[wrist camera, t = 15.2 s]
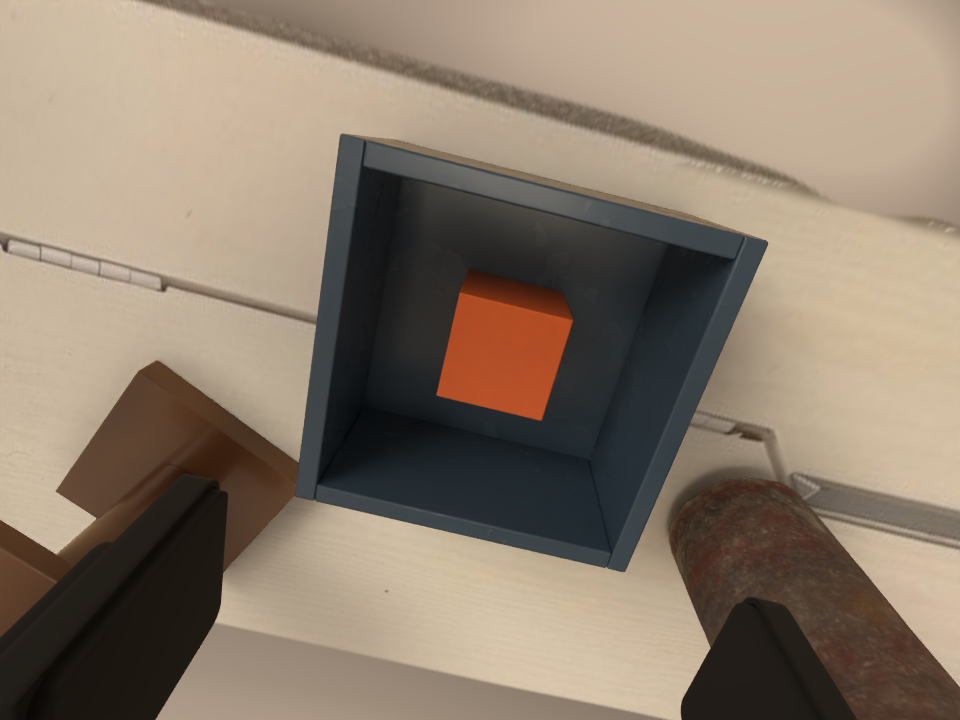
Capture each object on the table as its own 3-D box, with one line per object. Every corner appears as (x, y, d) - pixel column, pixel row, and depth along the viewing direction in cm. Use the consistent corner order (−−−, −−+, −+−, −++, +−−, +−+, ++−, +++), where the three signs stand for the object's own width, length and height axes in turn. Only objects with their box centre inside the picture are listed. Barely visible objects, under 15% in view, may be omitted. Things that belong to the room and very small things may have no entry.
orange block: (448, 357, 26) (435, 396, 22) (468, 268, 24) (459, 292, 20) (537, 378, 26) (541, 421, 22) (563, 291, 24) (574, 320, 20)
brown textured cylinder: (661, 467, 28) (944, 1066, 10) (805, 453, 28) (1414, 1077, 9) (665, 578, 31) (894, 1214, 12) (797, 568, 30) (1252, 1234, 12)
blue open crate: (350, 408, 28) (294, 497, 21) (393, 139, 23) (339, 132, 16) (596, 467, 29) (625, 573, 21) (691, 214, 24) (770, 241, 16)
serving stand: (75, 476, 31) (-173, 659, 20) (157, 359, 28) (-83, 497, 17) (220, 571, 33) (69, 786, 22) (311, 472, 30) (189, 663, 19)
